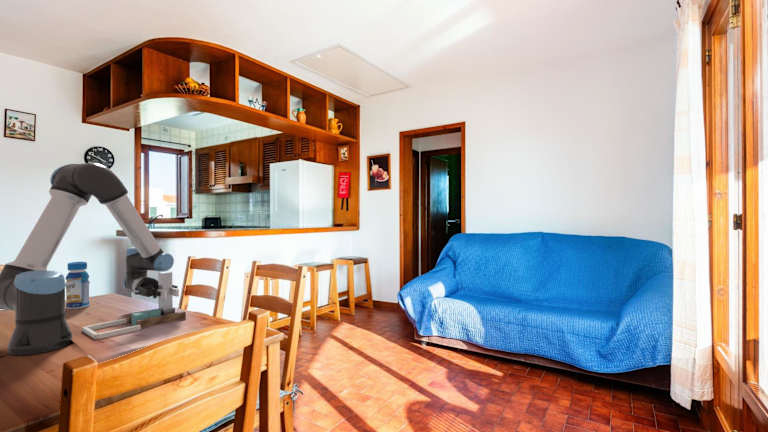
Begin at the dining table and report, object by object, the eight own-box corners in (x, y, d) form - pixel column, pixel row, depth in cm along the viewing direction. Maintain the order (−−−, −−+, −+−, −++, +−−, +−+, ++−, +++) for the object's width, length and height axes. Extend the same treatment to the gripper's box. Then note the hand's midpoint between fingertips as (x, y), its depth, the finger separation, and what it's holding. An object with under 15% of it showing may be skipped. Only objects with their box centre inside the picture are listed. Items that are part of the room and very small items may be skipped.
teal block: (149, 323, 138) (148, 312, 138) (144, 321, 140) (144, 311, 140) (160, 321, 141) (160, 310, 141) (156, 319, 144) (156, 308, 144)
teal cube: (136, 326, 135) (135, 315, 135) (131, 324, 137) (131, 313, 137) (148, 323, 138) (148, 313, 138) (143, 322, 140) (143, 311, 140)
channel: (139, 332, 132) (138, 321, 132) (127, 327, 139) (126, 316, 139) (185, 322, 145) (185, 311, 145) (172, 317, 152) (172, 307, 152)
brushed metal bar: (164, 319, 141) (163, 273, 141) (157, 316, 145) (157, 272, 145) (173, 317, 144) (173, 272, 144) (167, 314, 148) (166, 271, 147)
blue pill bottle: (93, 306, 170) (92, 262, 170) (70, 310, 163) (69, 264, 163) (85, 304, 174) (84, 260, 174) (62, 308, 167) (61, 262, 167)
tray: (95, 344, 121) (95, 334, 121) (81, 335, 130) (81, 327, 129) (140, 333, 131) (140, 325, 131) (125, 326, 140) (125, 318, 140)
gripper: (167, 292, 162) (194, 299, 148) (122, 299, 149) (147, 308, 135) (167, 274, 162) (194, 280, 148) (122, 280, 149) (147, 287, 134)
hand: (171, 293), depth 141 cm, fingers closed on brushed metal bar, 3 cm apart
